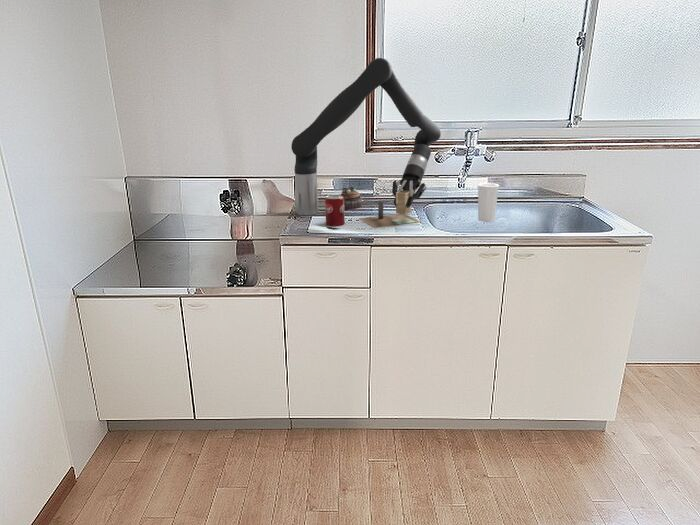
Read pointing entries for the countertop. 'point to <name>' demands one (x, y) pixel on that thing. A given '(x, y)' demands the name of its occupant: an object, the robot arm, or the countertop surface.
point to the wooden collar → (402, 202)
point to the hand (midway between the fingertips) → (401, 205)
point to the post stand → (388, 219)
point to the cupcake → (351, 198)
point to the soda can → (334, 211)
